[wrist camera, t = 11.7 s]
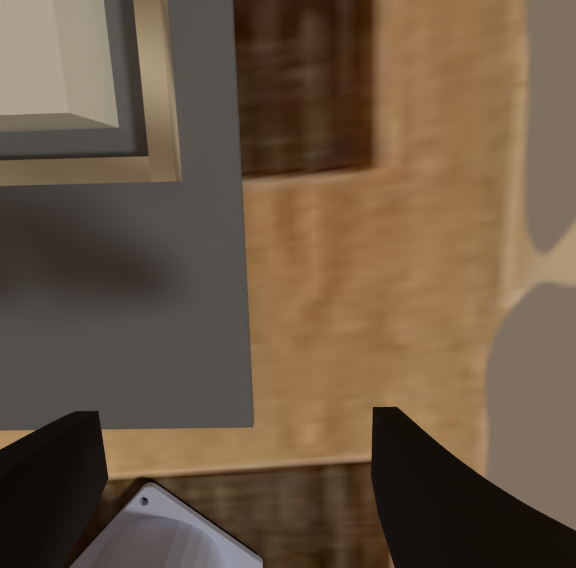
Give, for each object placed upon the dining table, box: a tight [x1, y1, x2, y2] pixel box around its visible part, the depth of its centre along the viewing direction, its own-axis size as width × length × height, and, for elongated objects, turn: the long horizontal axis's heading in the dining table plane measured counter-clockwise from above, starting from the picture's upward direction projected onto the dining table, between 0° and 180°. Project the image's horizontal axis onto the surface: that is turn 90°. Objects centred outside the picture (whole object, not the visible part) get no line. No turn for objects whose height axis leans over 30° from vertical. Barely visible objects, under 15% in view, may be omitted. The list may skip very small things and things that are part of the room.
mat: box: [0, 0, 254, 430], centre depth 18 cm, size 26×15×1 cm, turn 1°
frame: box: [0, 0, 182, 186], centre depth 16 cm, size 14×10×1 cm
